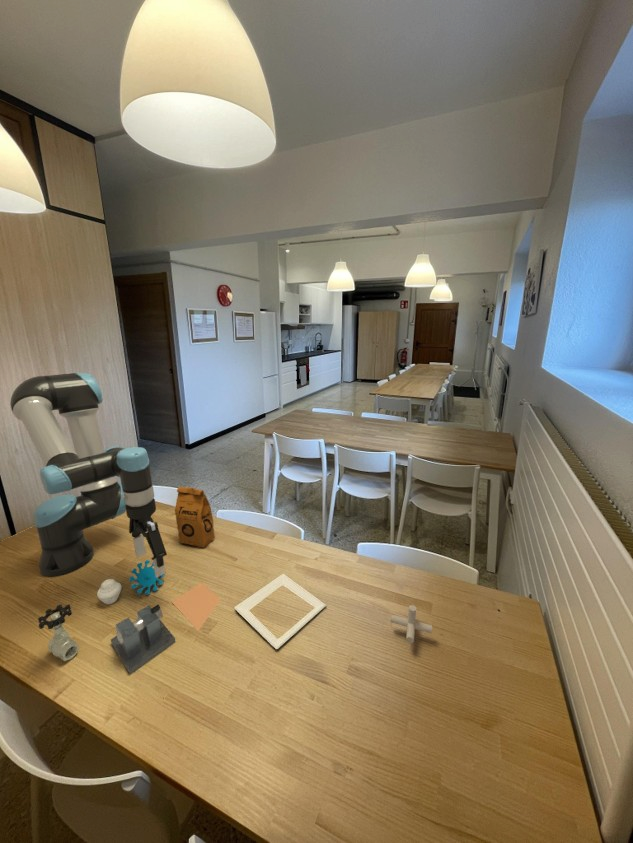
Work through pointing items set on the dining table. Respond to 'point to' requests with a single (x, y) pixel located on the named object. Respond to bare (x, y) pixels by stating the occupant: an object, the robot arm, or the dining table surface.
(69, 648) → the valve
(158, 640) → the shaft stand
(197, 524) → the coffee package
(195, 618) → the pad
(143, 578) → the gear
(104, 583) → the white rounded lump
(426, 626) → the pipe connector
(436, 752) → the dining table surface
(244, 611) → the white square picture frame
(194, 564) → the dining table surface
